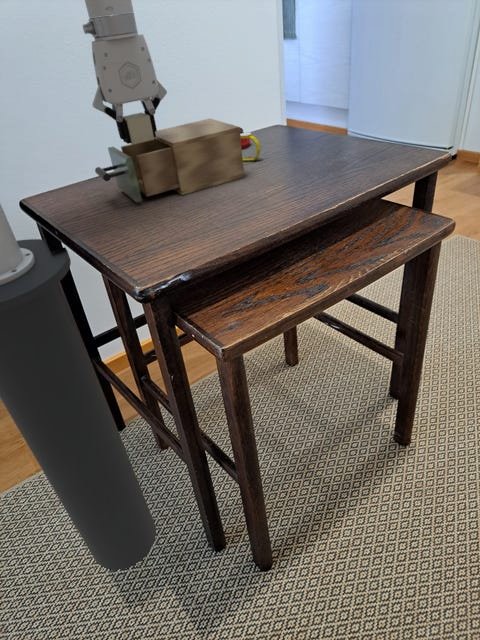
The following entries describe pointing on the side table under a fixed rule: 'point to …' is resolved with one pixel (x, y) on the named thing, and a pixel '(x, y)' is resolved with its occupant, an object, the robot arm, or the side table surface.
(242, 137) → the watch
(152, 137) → the block
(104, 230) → the side table surface
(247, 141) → the tracker holder
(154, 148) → the drawer
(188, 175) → the cabinet
